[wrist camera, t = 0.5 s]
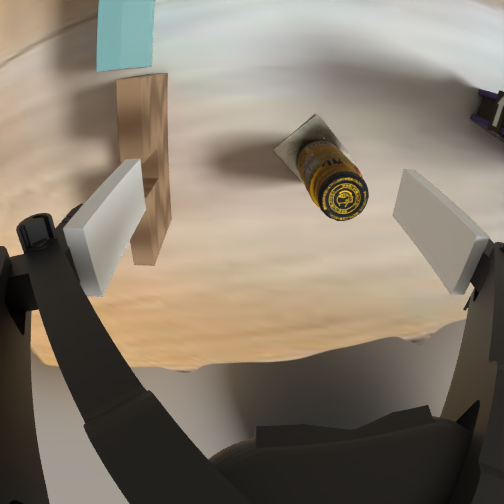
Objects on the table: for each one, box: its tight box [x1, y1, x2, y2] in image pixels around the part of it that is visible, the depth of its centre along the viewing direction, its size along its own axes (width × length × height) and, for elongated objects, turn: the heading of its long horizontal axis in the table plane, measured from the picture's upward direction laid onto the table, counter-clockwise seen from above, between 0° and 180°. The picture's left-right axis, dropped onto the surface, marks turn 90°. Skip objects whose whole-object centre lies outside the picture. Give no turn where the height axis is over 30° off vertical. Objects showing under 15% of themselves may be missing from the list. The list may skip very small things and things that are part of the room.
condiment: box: [273, 114, 369, 221], centre depth 34 cm, size 7×8×12 cm
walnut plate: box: [116, 73, 171, 266], centre depth 34 cm, size 20×2×11 cm, turn 177°
